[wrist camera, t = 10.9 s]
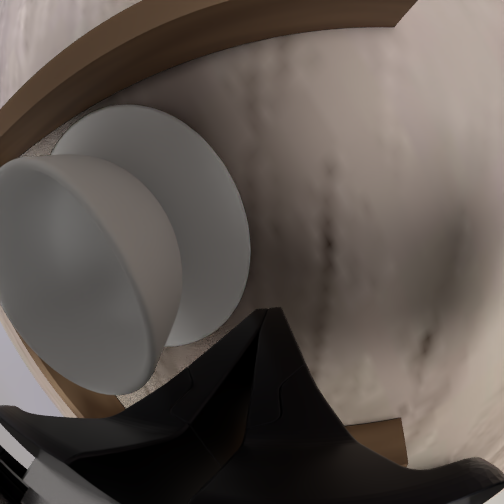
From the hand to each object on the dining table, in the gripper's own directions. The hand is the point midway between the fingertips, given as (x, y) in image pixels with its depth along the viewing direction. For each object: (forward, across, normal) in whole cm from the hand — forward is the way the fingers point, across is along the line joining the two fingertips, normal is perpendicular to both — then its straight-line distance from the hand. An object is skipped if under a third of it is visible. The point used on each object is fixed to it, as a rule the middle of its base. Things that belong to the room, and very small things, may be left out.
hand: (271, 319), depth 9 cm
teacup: (+2, +5, -3) cm, 6 cm away
